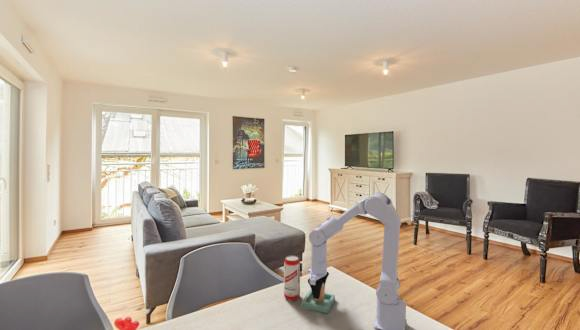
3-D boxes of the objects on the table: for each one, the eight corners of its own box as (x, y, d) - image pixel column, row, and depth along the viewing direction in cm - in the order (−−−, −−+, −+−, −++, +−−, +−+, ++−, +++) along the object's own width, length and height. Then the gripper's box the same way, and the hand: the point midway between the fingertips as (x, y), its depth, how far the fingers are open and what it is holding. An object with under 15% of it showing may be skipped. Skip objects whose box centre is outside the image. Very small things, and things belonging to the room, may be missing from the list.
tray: (334, 300, 108) (334, 295, 108) (327, 314, 99) (327, 309, 98) (310, 294, 112) (310, 289, 112) (301, 307, 103) (301, 302, 103)
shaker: (326, 297, 106) (326, 281, 106) (322, 303, 102) (322, 287, 101) (314, 294, 108) (314, 279, 108) (310, 300, 104) (310, 284, 103)
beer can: (298, 302, 106) (298, 261, 105) (282, 300, 107) (282, 260, 106) (301, 293, 112) (301, 255, 111) (285, 292, 113) (285, 254, 112)
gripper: (315, 251, 112) (314, 283, 113) (301, 265, 99) (301, 301, 100) (332, 254, 109) (331, 287, 110) (320, 269, 96) (320, 306, 97)
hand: (318, 294), depth 105 cm, fingers closed on shaker, 4 cm apart
